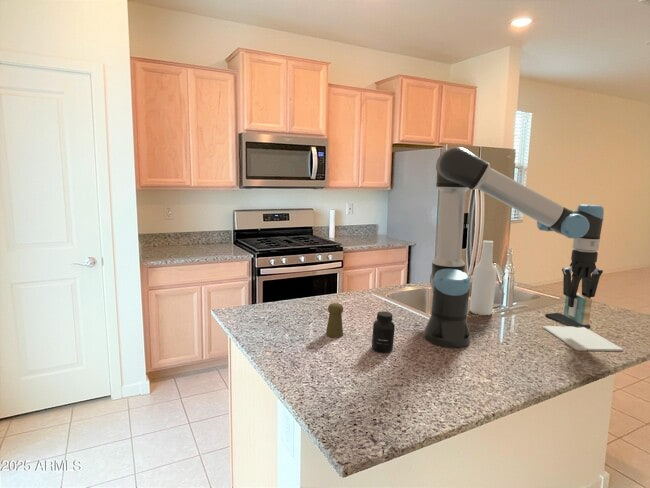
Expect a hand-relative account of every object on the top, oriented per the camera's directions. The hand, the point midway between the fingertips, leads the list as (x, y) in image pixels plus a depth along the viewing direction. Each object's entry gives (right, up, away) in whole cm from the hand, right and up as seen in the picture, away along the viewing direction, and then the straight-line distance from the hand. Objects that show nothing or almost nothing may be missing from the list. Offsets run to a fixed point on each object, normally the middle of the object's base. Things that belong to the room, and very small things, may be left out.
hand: (575, 315), depth 145 cm
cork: (-85, -6, -2) cm, 85 cm away
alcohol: (-24, -3, +26) cm, 35 cm away
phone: (+8, -6, +19) cm, 21 cm away
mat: (+3, -8, +2) cm, 9 cm away
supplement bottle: (-70, -9, -13) cm, 72 cm away
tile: (0, -1, 0) cm, 1 cm away
